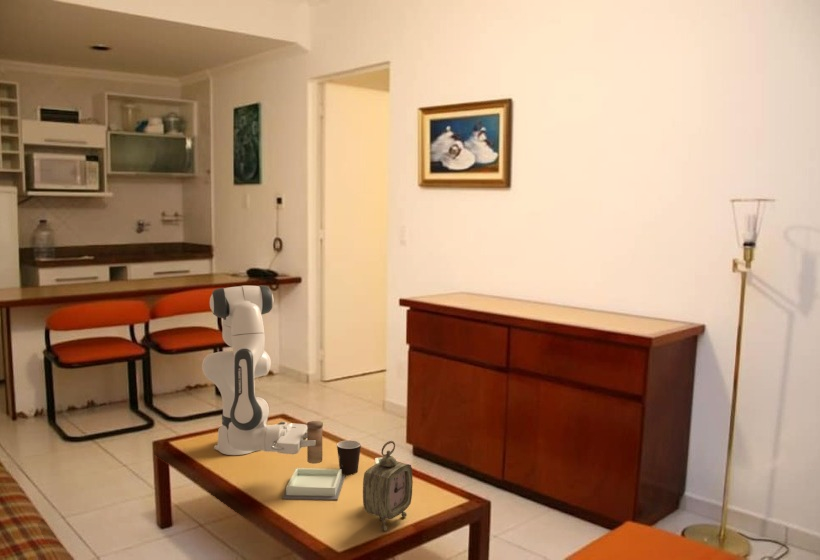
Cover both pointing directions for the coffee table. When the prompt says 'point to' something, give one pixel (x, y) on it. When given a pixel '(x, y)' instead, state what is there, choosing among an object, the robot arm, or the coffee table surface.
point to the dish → (314, 482)
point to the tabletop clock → (387, 487)
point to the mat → (303, 497)
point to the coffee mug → (349, 456)
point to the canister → (316, 433)
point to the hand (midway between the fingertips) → (317, 439)
